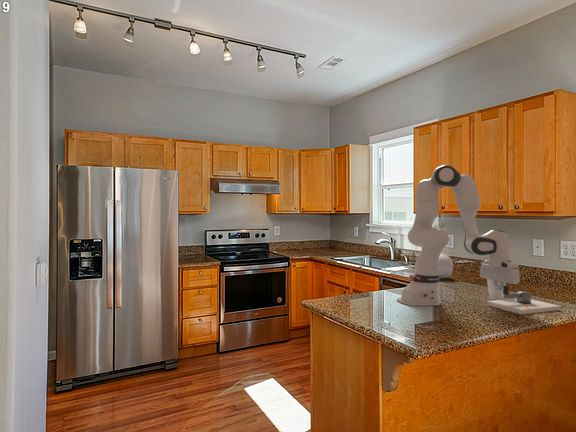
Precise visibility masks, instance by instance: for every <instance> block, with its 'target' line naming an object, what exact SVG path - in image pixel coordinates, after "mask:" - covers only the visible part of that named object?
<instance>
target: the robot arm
mask: <svg viewBox="0 0 576 432" xmlns="http://www.w3.org/2000/svg"><path fill="white" fill-rule="evenodd" d="M447 187H448V188H449V189H451V191H452V193H453V196H454V199H455V203H456V206H457V209H458V211H459V213H460V217H461V220H462V226H463V229H464V236H465V237H464V242H463V247H464V249H465V250H466V252H468V253H469V254H471V255H478V256H486V255H488V260H485V259H484V260H482V261H481V264H480V269H479V276H480V278H481V279H486V280H487V279H490V280H493V284H494V286H495V289H496V290H502V287H503V286H504V284H505V283H506V284H511V285H517V284H519V283H520V281H521V280H520V279H521V278H520V277H521V275H520V270H519V267H520V264H519V262H515V261H514V260H512V259H510V255H509V250H510V237H509V234H508V233H507V232H506V231H503V230H500V229H499V230H498V229H490V230H489V231H488V232H486V233H484V234H481V235H480V233H479V229H478V223H477V220H476V218H477V217H476V215H477V213H478V211H479V210H480V208H481V198H480V194H479V190H478V187H477V185H476V182H475V180H474V178H473V176H472V175H470V174H465V173H464V174H461V173H460V172H459V171H458V170H457V169H456V168H454V167H453V166H452V165H449V164H443V165H439V166H437V167H436V168H435V169H434V170H433V171H432V172H431V175H430V176H429V178H427V179H422V180H420V181H418V183H417V185H416V189H415V190H416V192H415V217H414V222H413V224H412V227H411V228H410V229H409V231H408V233H407V238H408V239H407V240H408V242H409V243H410V244H411V245H413V246H416V247H419V248H421V250H420V254H419V255H418V256H417V257H416V259H415V262H416V269H415V273H414V275H413V274H409V275H408V278H409V279H412V281H411V282H410V283H408V284H407V285H405V287H403V288H402V291H401V296H400V297H397V298H396V301H397V302H399V303H401V304H404V305H407V306H412V307H421V306H422V307H424V306H425V307H426V306H441V303H442V300H441V296H440V289H439V282H440V278H439V275H438V264H439V257H440V254H442V251H443V249H445V248H446V247H447V245H448V243H449V240H450V236H449V234H448V232H447V231H446V230H444V229H442V228H439V227H433V225H434V222H435V219H437V218H438V217H439V192H440V189H442V188H447ZM498 281H499V283H500V285H499V286H498V283H497V282H498ZM506 284H505V285H506Z"/></svg>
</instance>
